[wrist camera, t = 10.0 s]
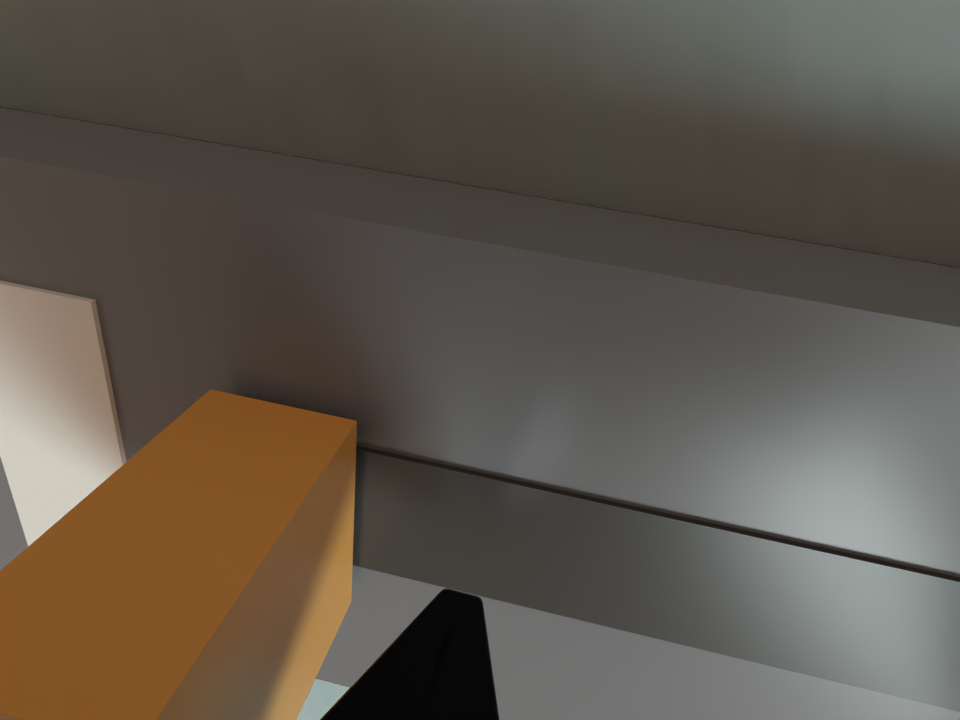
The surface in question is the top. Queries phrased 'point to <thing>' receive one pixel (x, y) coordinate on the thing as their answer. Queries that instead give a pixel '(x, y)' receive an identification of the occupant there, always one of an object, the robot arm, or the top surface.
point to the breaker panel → (517, 415)
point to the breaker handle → (190, 575)
